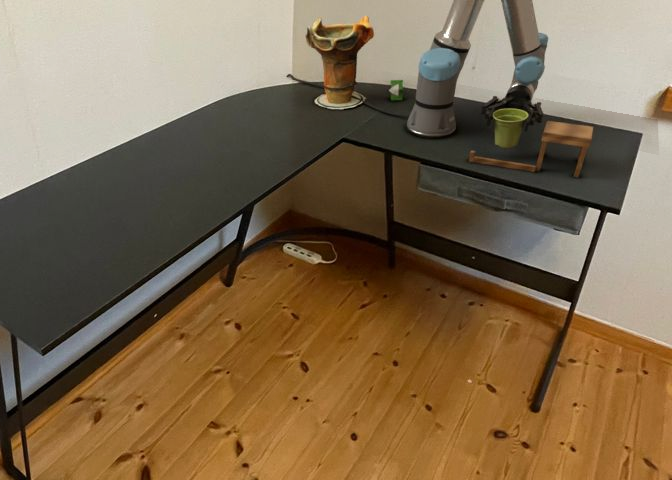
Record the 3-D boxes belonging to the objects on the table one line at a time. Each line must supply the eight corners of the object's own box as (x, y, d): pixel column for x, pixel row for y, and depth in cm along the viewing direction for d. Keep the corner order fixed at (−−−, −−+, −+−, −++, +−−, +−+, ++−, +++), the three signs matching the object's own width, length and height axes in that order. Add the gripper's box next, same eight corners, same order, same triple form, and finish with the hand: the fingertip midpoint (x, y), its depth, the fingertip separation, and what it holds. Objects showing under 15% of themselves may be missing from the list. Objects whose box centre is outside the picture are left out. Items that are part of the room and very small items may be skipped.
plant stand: (468, 161, 174) (475, 124, 167) (477, 144, 183) (484, 108, 176) (579, 179, 163) (591, 140, 156) (583, 160, 172) (594, 122, 165)
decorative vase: (308, 89, 225) (308, 9, 208) (370, 91, 222) (375, 9, 205) (301, 110, 209) (301, 25, 192) (368, 112, 205) (374, 25, 188)
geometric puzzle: (384, 88, 218) (388, 74, 210) (403, 87, 217) (407, 74, 210) (386, 105, 216) (389, 92, 208) (405, 105, 216) (409, 92, 208)
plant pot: (525, 150, 168) (530, 121, 163) (489, 150, 170) (493, 121, 165) (522, 137, 175) (526, 108, 170) (487, 137, 177) (491, 108, 172)
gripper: (554, 114, 180) (546, 143, 164) (479, 103, 187) (464, 130, 172) (561, 89, 175) (553, 116, 159) (484, 79, 183) (469, 104, 167)
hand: (507, 123), depth 165 cm, fingers closed on plant pot, 9 cm apart
